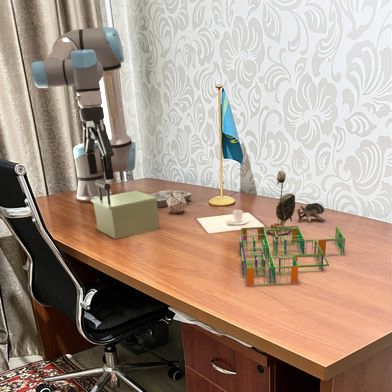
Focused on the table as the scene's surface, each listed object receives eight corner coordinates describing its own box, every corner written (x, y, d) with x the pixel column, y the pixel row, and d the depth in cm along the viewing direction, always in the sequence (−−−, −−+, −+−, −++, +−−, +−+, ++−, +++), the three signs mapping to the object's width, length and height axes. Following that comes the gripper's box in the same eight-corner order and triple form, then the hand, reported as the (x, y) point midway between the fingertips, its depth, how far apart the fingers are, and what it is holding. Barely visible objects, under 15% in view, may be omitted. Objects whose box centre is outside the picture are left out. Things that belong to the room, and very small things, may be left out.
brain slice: (176, 195, 226) (176, 188, 225) (196, 201, 213) (196, 194, 212) (136, 203, 218) (135, 196, 216) (154, 210, 205) (153, 203, 203)
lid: (109, 210, 170) (105, 186, 166) (90, 201, 182) (87, 179, 178) (156, 200, 177) (154, 177, 174) (136, 192, 189) (133, 171, 186)
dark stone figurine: (302, 230, 170) (304, 167, 160) (274, 237, 165) (275, 173, 155) (286, 225, 176) (288, 164, 166) (259, 232, 172) (259, 169, 162)
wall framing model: (238, 242, 163) (238, 228, 160) (333, 238, 161) (334, 222, 159) (244, 286, 132) (243, 268, 130) (360, 280, 131) (362, 262, 128)
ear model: (227, 227, 179) (227, 215, 177) (221, 221, 185) (221, 209, 183) (251, 224, 180) (251, 212, 178) (245, 218, 187) (245, 207, 185)
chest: (115, 239, 175) (111, 209, 170) (97, 229, 187) (93, 201, 182) (159, 228, 182) (156, 200, 177) (139, 219, 194) (136, 193, 189)
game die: (177, 223, 200) (166, 207, 191) (167, 211, 205) (156, 195, 196) (195, 210, 199) (185, 192, 191) (186, 198, 204) (175, 180, 196)
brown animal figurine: (298, 222, 175) (325, 216, 172) (295, 201, 175) (322, 196, 173) (300, 228, 182) (326, 223, 180) (297, 208, 183) (323, 203, 180)
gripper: (66, 106, 169) (77, 173, 180) (95, 109, 150) (105, 183, 161) (87, 104, 173) (97, 170, 183) (118, 106, 154) (127, 179, 164)
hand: (101, 176), depth 172 cm, fingers open, 13 cm apart
